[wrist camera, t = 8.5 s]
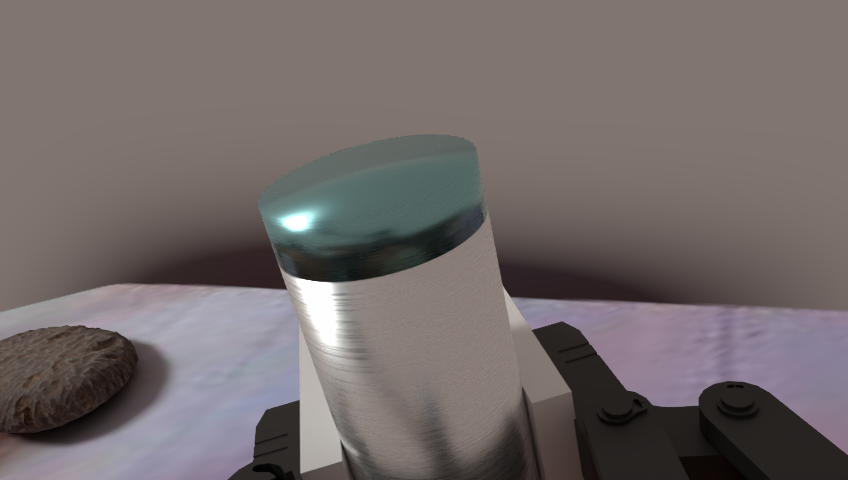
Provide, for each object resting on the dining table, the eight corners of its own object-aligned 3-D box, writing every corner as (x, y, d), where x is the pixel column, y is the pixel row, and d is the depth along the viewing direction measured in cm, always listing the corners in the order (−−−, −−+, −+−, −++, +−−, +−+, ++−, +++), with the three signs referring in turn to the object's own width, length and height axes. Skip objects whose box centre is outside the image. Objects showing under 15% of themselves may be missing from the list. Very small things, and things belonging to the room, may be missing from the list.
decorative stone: (188, 358, 60) (167, 312, 57) (50, 472, 49) (18, 420, 47) (62, 339, 69) (40, 298, 67) (-77, 430, 58) (-108, 385, 56)
